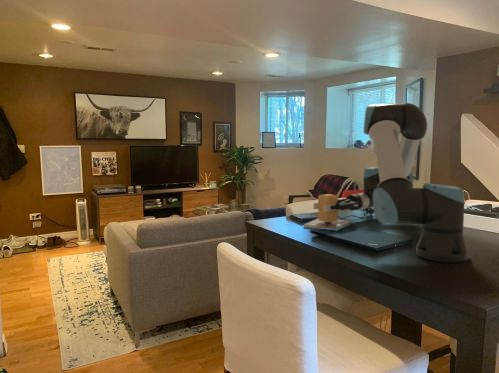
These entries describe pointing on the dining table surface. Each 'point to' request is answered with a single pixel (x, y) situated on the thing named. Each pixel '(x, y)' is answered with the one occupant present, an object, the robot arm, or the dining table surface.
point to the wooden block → (327, 215)
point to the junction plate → (326, 224)
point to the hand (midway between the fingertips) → (318, 207)
